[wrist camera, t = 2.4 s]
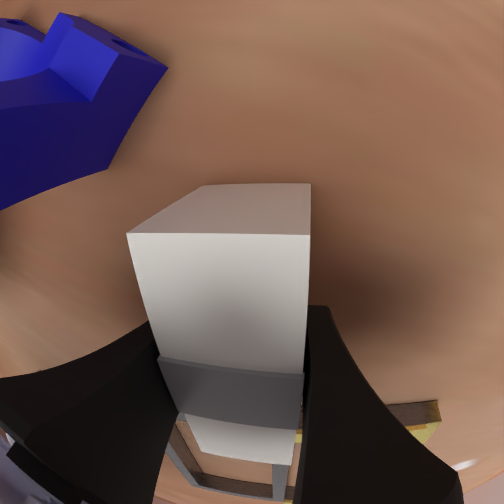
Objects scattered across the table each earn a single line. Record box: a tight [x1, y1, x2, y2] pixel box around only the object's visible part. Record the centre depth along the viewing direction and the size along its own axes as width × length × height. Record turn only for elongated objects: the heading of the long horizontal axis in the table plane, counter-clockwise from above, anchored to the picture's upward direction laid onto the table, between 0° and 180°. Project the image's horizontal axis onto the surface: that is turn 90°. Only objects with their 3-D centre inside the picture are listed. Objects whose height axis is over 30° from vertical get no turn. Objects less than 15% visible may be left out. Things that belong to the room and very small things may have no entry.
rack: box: [165, 400, 442, 504], centre depth 16 cm, size 17×16×2 cm
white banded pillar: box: [126, 183, 311, 465], centre depth 9 cm, size 4×9×5 cm, turn 3°
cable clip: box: [0, 12, 168, 210], centre depth 5 cm, size 12×4×6 cm, turn 51°
